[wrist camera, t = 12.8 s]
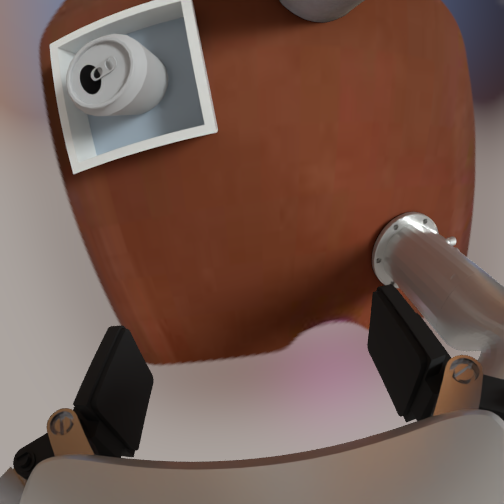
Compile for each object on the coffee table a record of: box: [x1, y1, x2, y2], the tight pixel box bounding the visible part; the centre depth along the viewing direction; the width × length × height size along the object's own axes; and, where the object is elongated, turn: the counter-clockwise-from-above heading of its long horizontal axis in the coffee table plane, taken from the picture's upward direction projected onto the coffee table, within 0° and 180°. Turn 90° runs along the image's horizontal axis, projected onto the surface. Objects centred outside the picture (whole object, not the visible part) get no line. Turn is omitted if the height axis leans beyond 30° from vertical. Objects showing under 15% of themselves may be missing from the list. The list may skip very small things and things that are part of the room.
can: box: [66, 34, 168, 116], centre depth 22 cm, size 8×8×12 cm
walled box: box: [50, 0, 218, 174], centre depth 26 cm, size 16×16×6 cm
